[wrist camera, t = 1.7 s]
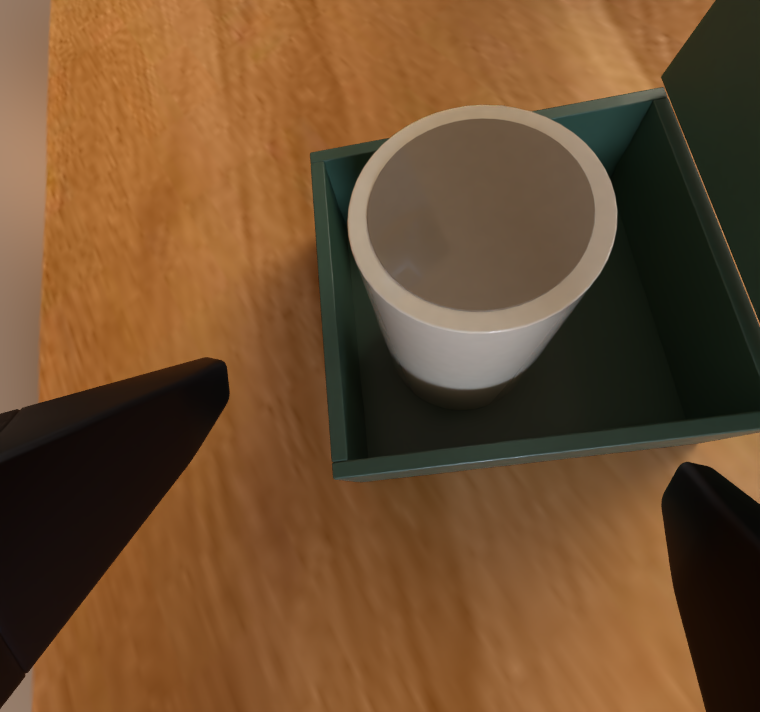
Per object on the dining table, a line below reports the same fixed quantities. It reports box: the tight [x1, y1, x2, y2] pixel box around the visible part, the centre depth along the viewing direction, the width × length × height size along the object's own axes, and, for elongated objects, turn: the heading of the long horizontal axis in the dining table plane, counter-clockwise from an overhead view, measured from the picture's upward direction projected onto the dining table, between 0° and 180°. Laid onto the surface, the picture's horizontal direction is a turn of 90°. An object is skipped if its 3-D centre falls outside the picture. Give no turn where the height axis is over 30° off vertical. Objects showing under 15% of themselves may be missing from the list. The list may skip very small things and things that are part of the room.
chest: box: [310, 87, 760, 482], centre depth 19 cm, size 15×14×6 cm
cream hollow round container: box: [347, 105, 617, 410], centre depth 17 cm, size 9×7×11 cm
